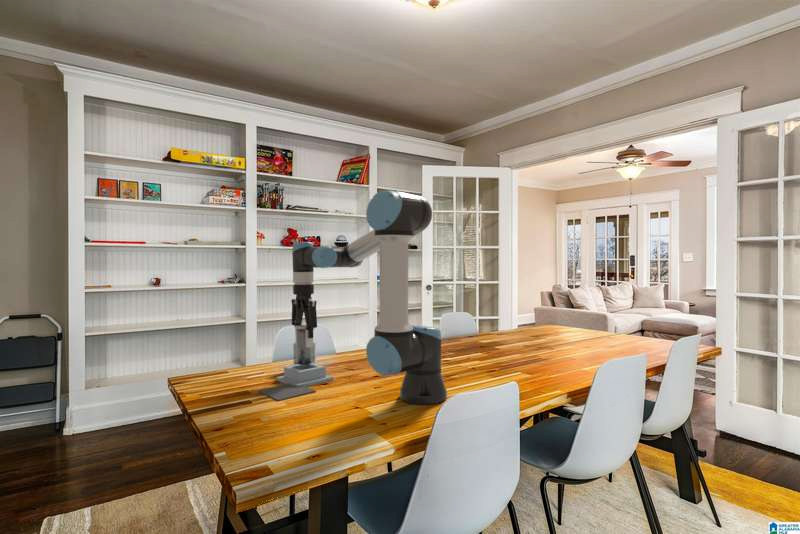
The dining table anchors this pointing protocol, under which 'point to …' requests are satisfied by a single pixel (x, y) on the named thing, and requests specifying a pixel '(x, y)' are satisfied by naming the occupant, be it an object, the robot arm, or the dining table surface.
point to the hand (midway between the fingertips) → (304, 345)
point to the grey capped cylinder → (303, 346)
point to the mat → (286, 391)
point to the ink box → (312, 352)
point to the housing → (304, 375)
